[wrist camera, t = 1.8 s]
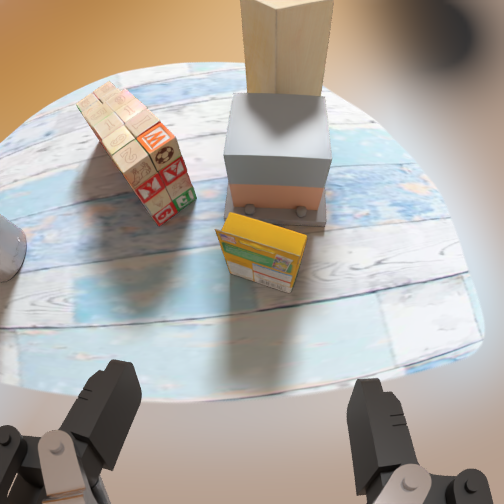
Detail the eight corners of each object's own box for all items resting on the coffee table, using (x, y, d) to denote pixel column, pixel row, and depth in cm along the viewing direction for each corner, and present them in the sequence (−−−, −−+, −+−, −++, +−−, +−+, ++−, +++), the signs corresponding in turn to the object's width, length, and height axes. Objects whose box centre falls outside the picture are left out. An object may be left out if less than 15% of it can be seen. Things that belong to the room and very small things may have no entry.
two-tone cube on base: (225, 222, 38) (210, 167, 28) (234, 145, 42) (226, 85, 32) (324, 226, 37) (343, 173, 27) (320, 149, 42) (332, 89, 31)
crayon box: (298, 270, 36) (312, 225, 25) (290, 294, 35) (301, 259, 24) (238, 250, 37) (226, 199, 26) (229, 273, 36) (212, 230, 25)
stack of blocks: (98, 141, 45) (66, 89, 33) (129, 119, 46) (103, 64, 35) (159, 228, 38) (121, 172, 27) (199, 198, 40) (175, 135, 28)
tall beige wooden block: (287, 97, 46) (291, -20, 26) (317, 123, 43) (335, -1, 24) (245, 116, 44) (234, -8, 25) (274, 145, 42) (276, 10, 22)
